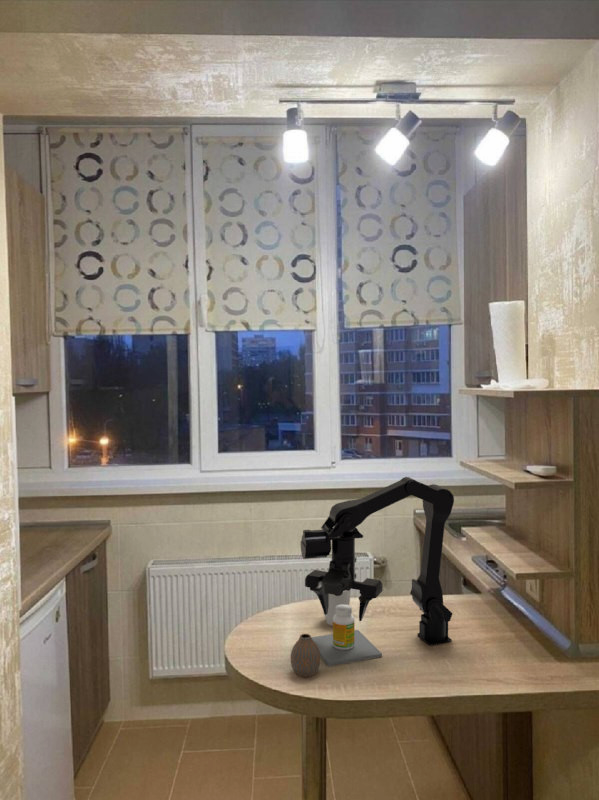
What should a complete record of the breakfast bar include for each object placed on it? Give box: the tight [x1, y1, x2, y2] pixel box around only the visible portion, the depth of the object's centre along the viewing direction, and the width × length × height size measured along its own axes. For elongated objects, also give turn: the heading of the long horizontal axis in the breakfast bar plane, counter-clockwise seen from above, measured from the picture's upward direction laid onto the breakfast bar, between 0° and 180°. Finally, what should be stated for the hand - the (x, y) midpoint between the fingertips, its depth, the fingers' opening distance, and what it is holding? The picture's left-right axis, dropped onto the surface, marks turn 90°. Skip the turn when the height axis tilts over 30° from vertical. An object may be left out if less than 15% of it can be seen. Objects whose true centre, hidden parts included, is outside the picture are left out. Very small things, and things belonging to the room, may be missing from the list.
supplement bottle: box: [332, 604, 355, 650], centre depth 152 cm, size 5×5×10 cm
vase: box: [290, 633, 322, 678], centre depth 141 cm, size 7×7×9 cm
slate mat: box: [311, 629, 383, 667], centre depth 153 cm, size 14×14×1 cm
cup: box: [323, 590, 351, 627], centre depth 168 cm, size 8×8×10 cm
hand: (343, 617), depth 152 cm, fingers open, 9 cm apart
